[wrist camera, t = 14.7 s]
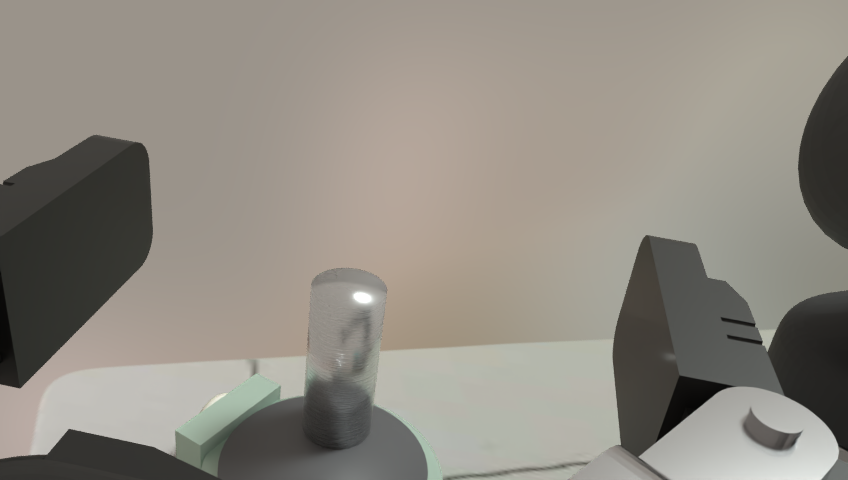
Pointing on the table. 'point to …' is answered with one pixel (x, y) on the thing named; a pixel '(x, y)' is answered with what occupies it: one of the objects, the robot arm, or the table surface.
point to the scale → (295, 442)
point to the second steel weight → (342, 356)
